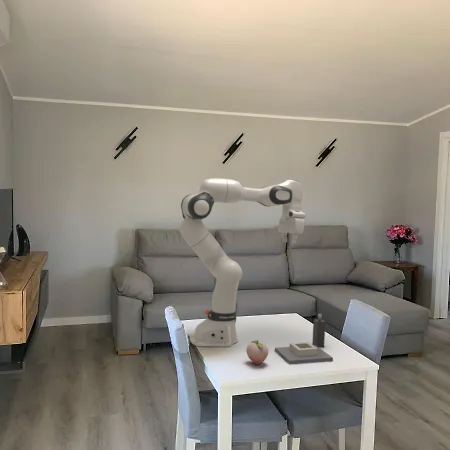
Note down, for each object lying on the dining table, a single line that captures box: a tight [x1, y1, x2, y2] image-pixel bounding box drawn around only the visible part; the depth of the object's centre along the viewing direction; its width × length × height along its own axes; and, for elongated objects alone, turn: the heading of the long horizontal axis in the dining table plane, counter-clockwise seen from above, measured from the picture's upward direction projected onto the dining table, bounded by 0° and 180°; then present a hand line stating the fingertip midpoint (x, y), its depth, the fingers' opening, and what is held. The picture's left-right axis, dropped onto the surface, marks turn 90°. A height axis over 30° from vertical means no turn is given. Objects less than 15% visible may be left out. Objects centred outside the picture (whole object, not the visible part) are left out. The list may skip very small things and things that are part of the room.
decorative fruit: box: [245, 339, 269, 365], centre depth 191 cm, size 9×8×10 cm
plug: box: [311, 313, 327, 348], centre depth 216 cm, size 4×4×15 cm
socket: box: [274, 341, 334, 365], centre depth 202 cm, size 20×16×4 cm
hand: (289, 242), depth 224 cm, fingers open, 8 cm apart
